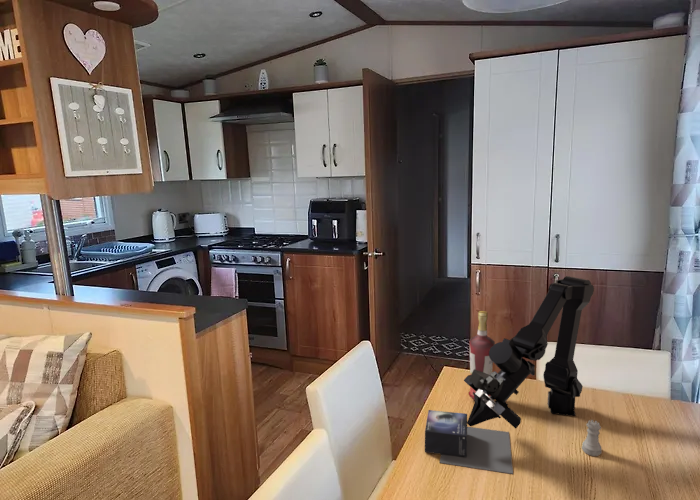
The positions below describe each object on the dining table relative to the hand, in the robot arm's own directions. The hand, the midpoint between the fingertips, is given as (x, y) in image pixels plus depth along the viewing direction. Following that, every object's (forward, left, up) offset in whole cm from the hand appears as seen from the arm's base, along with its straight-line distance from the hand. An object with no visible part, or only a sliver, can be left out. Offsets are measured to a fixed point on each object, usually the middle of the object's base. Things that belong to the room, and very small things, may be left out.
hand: (468, 424), depth 115 cm
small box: (0, -1, -4) cm, 4 cm away
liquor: (-3, -27, -7) cm, 28 cm away
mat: (-2, -2, -7) cm, 8 cm away
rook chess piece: (-30, -7, -7) cm, 32 cm away
